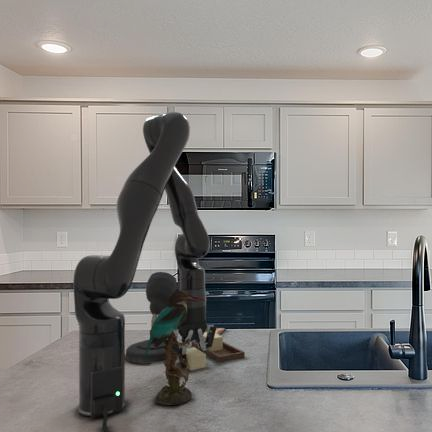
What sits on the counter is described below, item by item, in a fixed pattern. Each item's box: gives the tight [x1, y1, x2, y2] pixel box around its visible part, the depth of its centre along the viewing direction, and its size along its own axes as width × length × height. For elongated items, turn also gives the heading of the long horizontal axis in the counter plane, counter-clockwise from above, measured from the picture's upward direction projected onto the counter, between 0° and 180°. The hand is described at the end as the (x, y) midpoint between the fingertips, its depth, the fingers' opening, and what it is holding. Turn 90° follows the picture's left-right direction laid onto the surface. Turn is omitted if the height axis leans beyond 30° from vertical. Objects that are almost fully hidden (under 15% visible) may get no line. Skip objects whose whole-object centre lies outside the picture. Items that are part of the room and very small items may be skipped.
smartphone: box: [204, 327, 227, 336], centre depth 157 cm, size 8×1×15 cm
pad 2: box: [203, 332, 224, 351], centre depth 141 cm, size 8×4×4 cm, turn 35°
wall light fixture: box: [125, 271, 180, 365], centre depth 138 cm, size 16×25×20 cm
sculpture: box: [143, 289, 205, 406], centre depth 103 cm, size 8×14×25 cm, turn 86°
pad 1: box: [186, 347, 207, 371], centre depth 125 cm, size 8×4×4 cm, turn 35°
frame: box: [191, 340, 246, 363], centre depth 137 cm, size 20×8×2 cm, turn 35°
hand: (192, 365), depth 125 cm, fingers closed on pad 1, 4 cm apart
